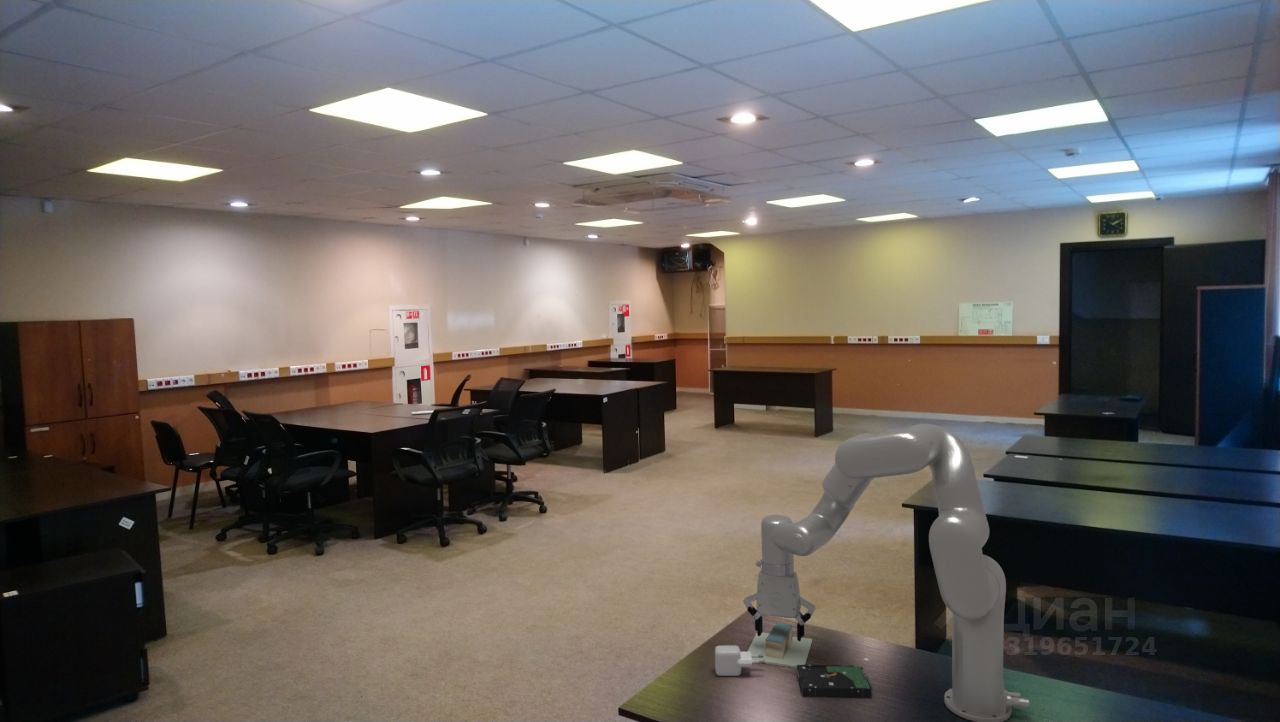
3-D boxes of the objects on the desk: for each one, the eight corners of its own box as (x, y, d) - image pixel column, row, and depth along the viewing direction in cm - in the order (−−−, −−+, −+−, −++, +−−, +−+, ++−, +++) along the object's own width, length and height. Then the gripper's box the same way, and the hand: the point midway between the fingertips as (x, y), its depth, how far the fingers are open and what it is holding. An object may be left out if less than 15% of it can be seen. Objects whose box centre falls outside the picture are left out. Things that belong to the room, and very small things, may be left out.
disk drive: (802, 700, 155) (873, 700, 154) (802, 687, 155) (872, 687, 154) (796, 676, 166) (862, 676, 164) (795, 664, 166) (862, 664, 164)
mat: (812, 641, 181) (812, 639, 181) (803, 669, 167) (803, 667, 167) (757, 634, 186) (756, 631, 186) (744, 660, 172) (744, 658, 172)
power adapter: (763, 667, 169) (762, 643, 168) (765, 678, 164) (764, 653, 163) (714, 667, 169) (714, 643, 169) (715, 678, 165) (715, 653, 164)
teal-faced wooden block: (782, 659, 171) (782, 642, 171) (765, 656, 173) (765, 639, 173) (792, 641, 180) (792, 625, 180) (776, 638, 182) (776, 622, 182)
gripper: (739, 569, 175) (741, 638, 176) (812, 576, 168) (813, 647, 170) (746, 559, 182) (747, 625, 183) (816, 565, 175) (818, 634, 177)
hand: (779, 636), depth 176 cm, fingers open, 9 cm apart
